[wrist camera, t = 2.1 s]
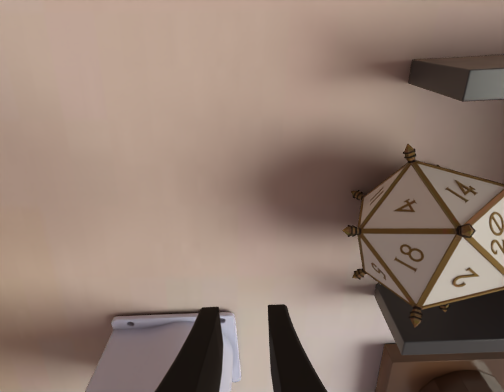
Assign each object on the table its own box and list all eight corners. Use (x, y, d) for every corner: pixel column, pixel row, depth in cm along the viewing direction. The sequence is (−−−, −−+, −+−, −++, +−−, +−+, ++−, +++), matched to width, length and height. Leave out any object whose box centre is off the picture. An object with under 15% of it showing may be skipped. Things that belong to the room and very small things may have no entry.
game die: (361, 157, 23) (390, 93, 13) (492, 193, 21) (639, 149, 11) (321, 277, 22) (322, 301, 13) (452, 326, 20) (572, 401, 11)
